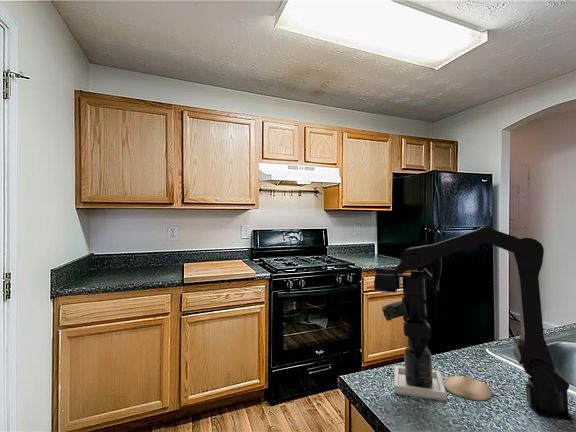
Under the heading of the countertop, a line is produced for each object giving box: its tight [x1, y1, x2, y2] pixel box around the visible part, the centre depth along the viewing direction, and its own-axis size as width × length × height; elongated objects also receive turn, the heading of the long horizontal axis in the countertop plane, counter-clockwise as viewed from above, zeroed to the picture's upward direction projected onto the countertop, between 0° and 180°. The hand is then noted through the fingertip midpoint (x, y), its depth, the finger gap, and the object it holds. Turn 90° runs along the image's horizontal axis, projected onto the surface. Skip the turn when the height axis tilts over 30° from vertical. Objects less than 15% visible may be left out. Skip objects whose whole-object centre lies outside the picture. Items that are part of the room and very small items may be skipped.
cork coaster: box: [443, 375, 493, 401], centre depth 80 cm, size 11×11×1 cm
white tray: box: [393, 365, 447, 402], centre depth 82 cm, size 12×12×2 cm
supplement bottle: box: [403, 337, 433, 389], centre depth 82 cm, size 7×7×12 cm
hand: (416, 351), depth 82 cm, fingers open, 9 cm apart
